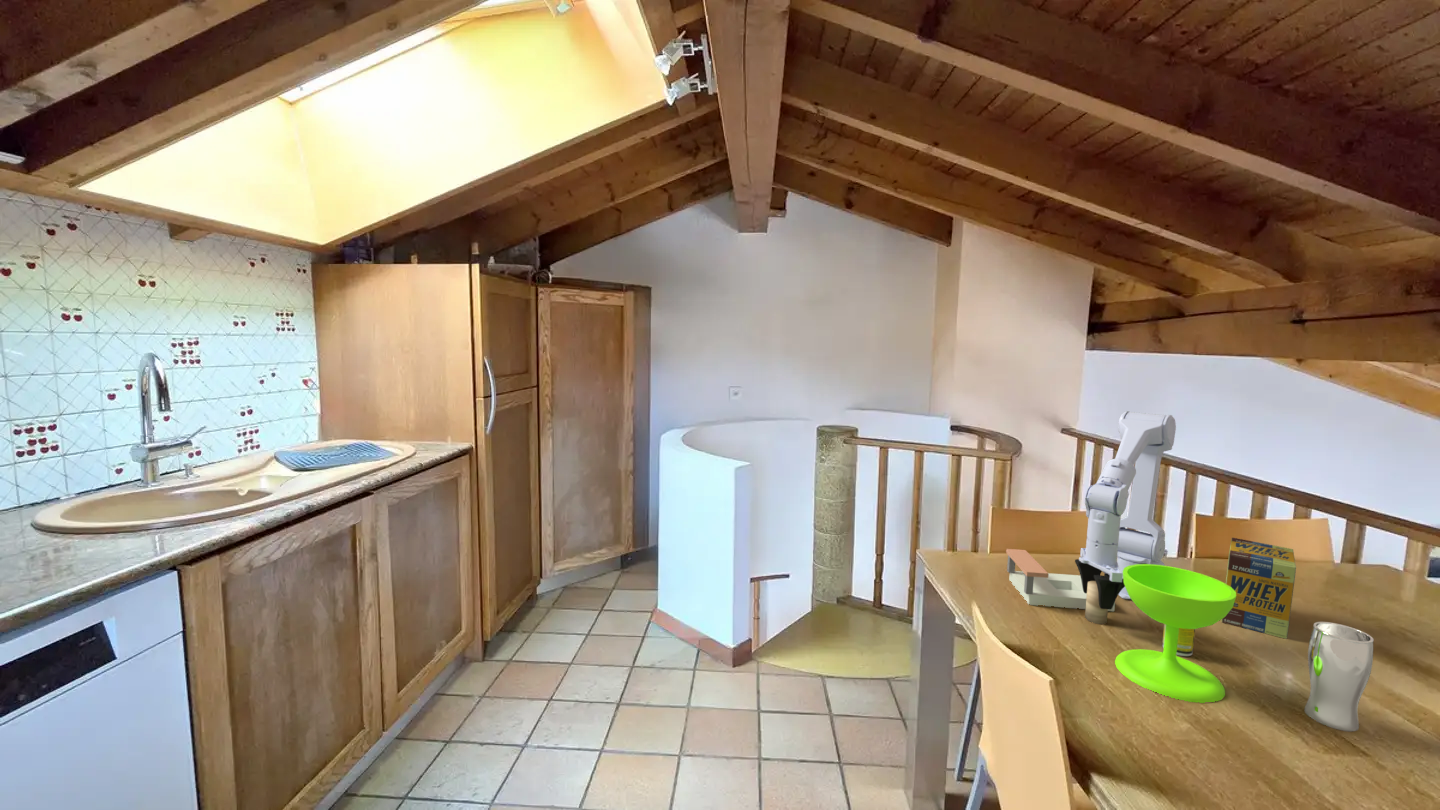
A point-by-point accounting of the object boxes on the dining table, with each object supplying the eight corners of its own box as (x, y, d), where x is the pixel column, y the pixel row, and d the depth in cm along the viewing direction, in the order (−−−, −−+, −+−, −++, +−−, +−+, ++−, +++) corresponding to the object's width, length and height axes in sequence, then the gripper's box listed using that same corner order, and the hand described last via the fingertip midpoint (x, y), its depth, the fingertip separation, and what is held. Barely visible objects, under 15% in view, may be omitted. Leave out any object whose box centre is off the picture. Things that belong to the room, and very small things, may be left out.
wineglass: (1234, 714, 95) (1246, 610, 93) (1116, 683, 103) (1125, 586, 101) (1215, 668, 108) (1226, 575, 106) (1112, 643, 117) (1120, 558, 115)
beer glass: (1288, 706, 97) (1299, 621, 95) (1326, 704, 97) (1337, 620, 96) (1335, 735, 90) (1348, 643, 88) (1376, 732, 91) (1389, 642, 89)
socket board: (1086, 585, 144) (1087, 575, 144) (1114, 611, 131) (1115, 600, 130) (1009, 580, 147) (1009, 570, 147) (1028, 604, 134) (1029, 594, 133)
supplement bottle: (1198, 658, 112) (1202, 616, 111) (1170, 655, 112) (1174, 614, 112) (1183, 645, 116) (1187, 605, 115) (1157, 643, 117) (1160, 603, 116)
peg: (1101, 616, 128) (1104, 581, 127) (1110, 624, 124) (1113, 589, 124) (1081, 614, 129) (1084, 580, 128) (1089, 623, 125) (1092, 587, 124)
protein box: (1220, 623, 126) (1228, 554, 124) (1224, 600, 137) (1231, 536, 135) (1288, 640, 119) (1297, 567, 117) (1285, 614, 130) (1294, 547, 128)
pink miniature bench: (1023, 570, 147) (1025, 550, 146) (1046, 596, 132) (1048, 573, 132) (1005, 569, 148) (1006, 548, 147) (1025, 595, 133) (1027, 572, 132)
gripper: (1068, 528, 132) (1063, 585, 134) (1098, 550, 118) (1092, 614, 120) (1101, 530, 131) (1096, 587, 133) (1136, 553, 117) (1130, 617, 119)
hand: (1097, 600), depth 126 cm, fingers open, 7 cm apart
